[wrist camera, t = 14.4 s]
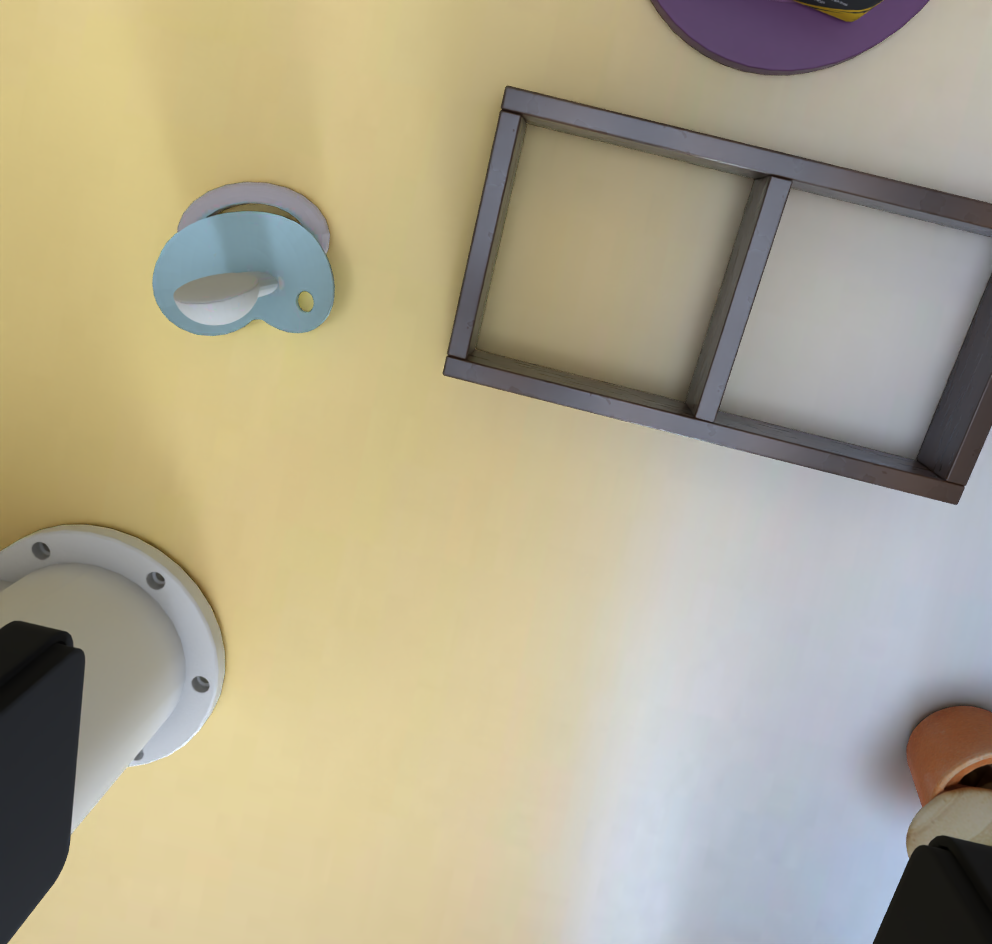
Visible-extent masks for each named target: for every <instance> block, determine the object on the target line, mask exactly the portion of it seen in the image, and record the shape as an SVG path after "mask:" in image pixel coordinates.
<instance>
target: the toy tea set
mask: <svg viewBox="0 0 992 944" xmlns="http://www.w3.org/2000/svg"><path fill="white" fill-rule="evenodd" d="M906 753H907V762H908V766H909V769H910V772H911V775H912V778H913V781H914V784H915V787H916V790H917V793H918V796H919V799H920V802H921V805H922V807H923V808H922V809H921V810H920V811H919V812H918V813H917V814H916V816H915V817H914V818H913V820H912V822H911V824H910V826H909V829H908V833H907V837H906V846H907V853H908V857H909V859H910V856H911V854H912V853H913V851H914V849H915V848H917V847H918V846H919V845H928V844H929V843H930V841H931V840H932V839H934V838H935V837H936V836H941V835H945V836H950V837H954V838H958V839H962V840H967V841H971V842H975V843H980V844H984V845H988V846H992V713H991V712H990V711H987V710H984V709H981V708H977V707H973V706H953V707H949V708H945V709H942V710H939V711H937V712H934V713H932V714H931V715H929V716H928V717H926V718H925V719H924V720H922V721H921V722H920V723H919V724H918V725H917V727H916V728H915V729H914V730H913V732H912V734H911V736H910V738H909V741H908V744H907V750H906Z"/></svg>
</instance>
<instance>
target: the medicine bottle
mask: <svg viewBox="0 0 992 944" xmlns="http://www.w3.org/2000/svg"><path fill="white" fill-rule="evenodd" d="M793 1H796V2H798V3H801V4H803V5H806V6H808V7H811V8H813V9H816V10H818V11H821V12H823V13H826V14H828V15H831V16H833V17H836V18H838V19H841V20H844V21H846V22H853V21H855V20H857V19H859V18H860V17H861V16H863V15H864V14H866V13H867V12H868V11H870V10H871V9H872V8H874V7H875V6H877V5H878V4H879V3H881V2H882V1H883V0H793Z"/></svg>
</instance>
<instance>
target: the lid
mask: <svg viewBox="0 0 992 944" xmlns="http://www.w3.org/2000/svg"><path fill="white" fill-rule="evenodd" d="M651 1H652V3H653V5H654V6H655V8H656V10H657V11H658V13H659V14H660V15H661V16H662V18H663V19H664V20H665V21H666V23H667V24H668V25H669V26H670V27H671V29H672V30H673V31H674V32H676V33H677V34H678V35H679V36H680V37H681V38H682V39H683V40H684V41H685V42H686V43H687V44H689V45H690V46H692V47H693V48H695V49H696V50H698V51H699V52H700V53H702V54H703V55H705V56H707V57H709V58H711V59H713V60H715V61H717V62H719V63H721V64H723V65H726V66H729V67H732V68H735V69H738V70H742V71H745V72H752V73H758V74H764V75H793V74H801V73H809V72H813V71H817V70H821V69H825V68H829V67H832V66H834V65H837V64H839V63H842V62H844V61H847V60H849V59H852V58H854V57H856V56H857V55H859V54H861V53H863V52H865V51H867V50H868V49H870V48H872V47H874V46H875V45H877V44H879V43H881V42H882V41H883V40H885V39H886V38H888V37H889V36H890V35H892V34H893V33H895V32H896V31H897V30H899V29H900V28H902V27H903V26H904V25H905V24H906V23H907V22H908V21H909V20H910V19H912V18H913V17H914V16H915V15H916V14H917V13H918V12H919V11H920V10H921V9H922V8H923V7H924V6H925V5H926V4H927V3H928V1H929V0H883V1H882V2H881V3H879V4H878V5H877V6H875V7H874V8H872V9H871V10H870V11H868V12H867V13H866V14H864V15H863V16H861V17H860V18H859V19H857V20H855V21H853V22H846V21H844V20H841V19H838V18H836V17H833V16H831V15H828V14H826V13H823V12H821V11H818V10H816V9H813V8H811V7H808V6H806V5H803V4H801V3H798V2H796V1H793V0H651Z"/></svg>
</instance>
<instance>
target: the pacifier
mask: <svg viewBox="0 0 992 944" xmlns="http://www.w3.org/2000/svg"><path fill="white" fill-rule="evenodd" d="M250 203H254V204H266V205H270V206H275V207H277V208H280V209H282V210H284V211H286V212H288V213H290V214H291V215H292V216H293V217H295V218H296V219H297V220H298V221H299V222H300V223H301V225H302V226H301V225H300V224H298V223H296V222H294V221H292V220H290V219H287V218H285V217H283V216H280V215H275V214H271V213H266V212H257V211H239V212H230V213H223V214H218V213H220V212H221V211H223V210H225V209H228V208H231V207H234V206H237V205H243V204H250ZM217 214H218V215H217ZM329 239H330V232H329V229H328V225H327V222H326V219H325V218H324V216H323V215H322V213H321V212H320V211H319V209H318V208H317V206H315V205H314V204H313V203H312V202H311V201H309V200H308V199H307V198H306V197H304V196H303V195H301V194H299V193H297V192H295V191H293V190H290V189H288V188H286V187H282V186H278V185H274V184H270V183H263V182H242V183H235V184H228V185H224V186H222V187H219V188H216V189H214V190H211V191H208V192H207V193H205V194H204V195H202V196H201V197H199V198H198V199H196V200H195V201H193V203H192V204H191V205H190V206H189V207H188V208H187V210H186V211H185V212H184V213H183V215H182V218H181V220H180V222H179V225H178V231H177V233H176V234H175V235H174V236H173V237H172V238H171V239H170V240H169V241H168V242H167V243H166V245H165V246H164V248H163V250H162V251H161V253H160V256H159V258H158V260H157V262H156V265H155V269H154V273H153V283H152V284H153V291H154V296H155V299H156V302H157V304H158V306H159V308H160V309H161V311H162V313H163V314H164V315H165V316H166V317H167V318H168V319H169V321H171V322H172V323H174V324H175V325H176V326H178V327H179V328H181V329H183V330H186V331H188V332H191V333H193V334H197V335H206V336H216V335H224V334H228V333H231V332H234V331H236V330H238V329H240V328H242V327H244V326H246V325H247V324H248V323H250V322H251V321H252V320H255V319H261V320H264V321H265V322H266V323H268V324H269V325H271V326H273V327H275V328H277V329H279V330H283V331H286V332H291V333H303V332H308V331H311V330H313V329H315V328H317V327H318V326H319V325H320V324H322V323H323V322H324V321H325V320H326V318H327V317H328V315H329V314H330V311H331V309H332V306H333V301H334V291H335V285H334V277H333V273H332V269H331V265H330V263H329V260H328V258H327V255H326V253H327V251H328V249H329ZM303 291H307V292H309V293H310V294H311V295H312V297H313V300H314V306H313V308H312V310H311V311H310V312H305V311H303V310H302V309H301V308H300V306H299V303H298V297H299V295H300V293H301V292H303Z"/></svg>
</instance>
